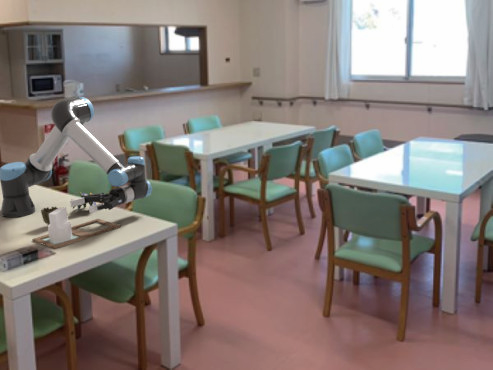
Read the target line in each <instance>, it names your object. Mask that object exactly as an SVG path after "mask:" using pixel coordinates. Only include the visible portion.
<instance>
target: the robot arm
mask: <svg viewBox="0 0 493 370" xmlns="http://www.w3.org/2000/svg"><path fill="white" fill-rule="evenodd" d="M94 116H95V109H94V105H93V104H92V102H91V101H90V100H89V98H87V97H83V96H76V97H73V98H68V99H67V98H66V99H62V100H59V101H57V102H56V103H54V105H53V106H52V108H51V111H50V117H51V120H52V122H53V124H54V127H53V128H52V129H51V130H50V132H49V133H48V135H47V136H46V138H45V139H44V141H43V142H42V144H41V145H40V146H39V148H38V150H37V151H36V153H32V154H30V155H29V157H28V159H27V160H26V161H25V162H22V161H14V162H9V163H6V164H4V165H2V166H1V167H0V186H1V187H0V188H1V192H2V193H1V194H2V203H1V207H0V213H1V214H0V215H1V216H2V215H3V216H7V217H6V218H19V217H18V216H21V217H25V215H26V216H29V215H32V214H34V213H35V212H36V206H35V204H34V201H33V200H32V198H31V196H30V191H29V189H30V187H33V186H36V185H38V184H42V183H45V182H46V181H48V180H49V179H50V178H51V176H52V174H53V171H52V170H53V162H54V161H55V159H56V157H57V156H58V155H59V154H60V152H61V151H62V149H63V148H64V147H65V145H66V144H67V143H68V141H69V139H71V140H72V142H74V143H75V144H76V145H77V146H78V147H79V148H80V149H81V150H82V151H83V152H84V153H85V154H86V155H87V156H88V157H89V158H90V159H91V160H92V161H93V162H94V163H95V164H96V165H97V166H99V168H100V169H101V170H102V171H103V172H104V173H106V174H107V181H108V183H109V184H110V185H111V186H112V187H115V188H112V189H111V190H110V191H109V193H104V192H100V193H95V194H94V193H93V194H92V195H90V194H87V195H84V196H81V195H80V198H76V199H70V201H69V202H70V205H69V206H70V208H73V207H74V206H76V207H78V205H82V204H85V203H86V204H89V202H95V203H96V205H93V206H90V205H89V206H88V209H89V210H88V211H89V214H92V213H97V212H100V211H103V210H109V211H110V210H112V209H114V208H116V207H117V206H120V205H123V204H129V202H130V203H131V202H134V201H136V200H141V199H144V198H146V197H149V196H151V194H152V193H153V187H152V184H151V182H150V181H149V180H147V178H146V177H147V176H146V174H147V173H146V162H145V158H144V157H143V156H138V155H137V156H129V157H128V158H127V164H125V165H123V164H122V163H121V162H120V161H119V159H117V158H116V157H115V156H114V155H113V154H112V153H111V152H110V151H109V150H108V149H107V148H106V147H105V146H104V145H103V144H102V143H101V142H100V141H99V140H98V139H97V138H96V137H95V136H94V135H92V133H91V132H89V130H88V129H86V127H84V124H85V123H88V122H89V121H91V120H92V119H93V118H94ZM82 206H83V205H82ZM74 208H75V207H74ZM33 212H34V213H33ZM3 216H2V217H3Z"/></svg>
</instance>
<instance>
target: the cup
mask: <svg viewBox="0 0 493 370" xmlns="http://www.w3.org/2000/svg"><path fill="white" fill-rule="evenodd" d="M58 208H59V207H57V206H51V208H49V207H44V208H42V209H41V210H40V213H41V218H42V220H43V222H44V223H45V224H47V227H48V225H49V224H50V220H49V213H51V212H53V211H54V210H56V209H58Z"/></svg>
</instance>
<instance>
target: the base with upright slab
mask: <svg viewBox="0 0 493 370" xmlns="http://www.w3.org/2000/svg"><path fill="white" fill-rule="evenodd" d="M57 208H58V209H56V210H54V211H53V212H51V213H49V220H50V224H49V225H48V226H47V232H48V233H47V234H49V240H50V241H51V242H55V243H59V242H65V241H68V240H70V239H72V229H71V227H72V223H71V222H70V221H68V211H67V207H57Z"/></svg>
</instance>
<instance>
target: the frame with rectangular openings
mask: <svg viewBox="0 0 493 370" xmlns="http://www.w3.org/2000/svg"><path fill="white" fill-rule="evenodd" d="M96 223H97V224H98V223H99V224H101V225H105V226H108V227H105V228H102V229H99V230H96V231H93V232H91V233H90V232H87V231H84V230H81V229H80V228H83V227H86V226H90V225H93V224H96ZM118 228H121V225H120V224H118V223H114V222H110V221H108V220H107V221H106V220H103V219H101V218H96V219H92V220H89V221H87V222H83V223H80V224H76V225H73V226H71V229H72V239H70V240H68V241H65V242H59V243H55V242H51V241H50V240H49V233H47V234H44V235H41V236H38V237H34V238H32V242H34V243H37V244H40V243H43V244H45V245H47V246H48V248H50V249H53V250H57V249H59V248H62V247H65V246H68V245H71V244H73V243H74V244H75V243H77V242H79V241H83V240H85V239H89V238H92V237H94V236H99V235H101V234H103V233H106V232H110V231H113V230H115V229H118ZM45 245H44V246H45ZM47 246H46V247H47Z"/></svg>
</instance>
